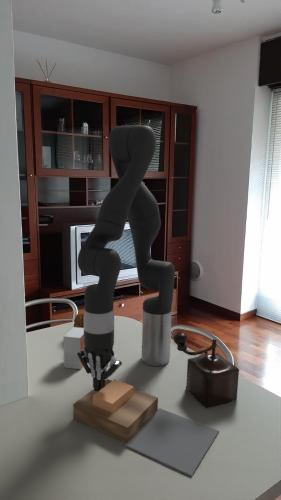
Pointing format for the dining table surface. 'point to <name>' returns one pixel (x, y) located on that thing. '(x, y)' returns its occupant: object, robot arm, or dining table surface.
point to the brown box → (117, 414)
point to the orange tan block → (113, 395)
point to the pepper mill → (209, 375)
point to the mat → (173, 441)
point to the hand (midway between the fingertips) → (98, 390)
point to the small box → (73, 348)
